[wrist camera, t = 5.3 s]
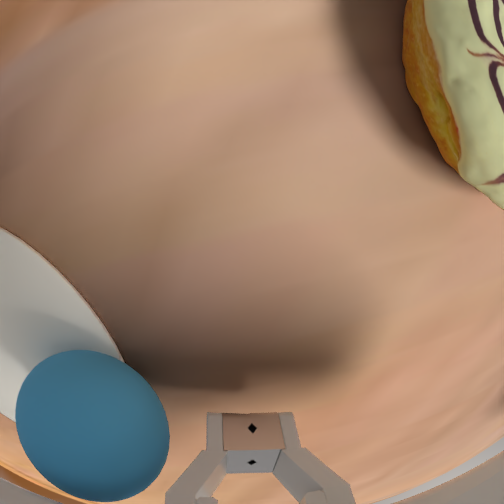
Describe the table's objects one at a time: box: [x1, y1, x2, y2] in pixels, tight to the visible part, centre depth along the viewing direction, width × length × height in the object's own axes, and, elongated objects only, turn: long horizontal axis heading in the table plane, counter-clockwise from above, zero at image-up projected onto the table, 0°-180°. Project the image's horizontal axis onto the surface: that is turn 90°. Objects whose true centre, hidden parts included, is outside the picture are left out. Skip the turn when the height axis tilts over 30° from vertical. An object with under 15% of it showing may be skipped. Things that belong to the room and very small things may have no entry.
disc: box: [0, 227, 125, 422], centre depth 10 cm, size 13×13×1 cm
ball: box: [15, 350, 170, 502], centre depth 8 cm, size 6×6×6 cm
